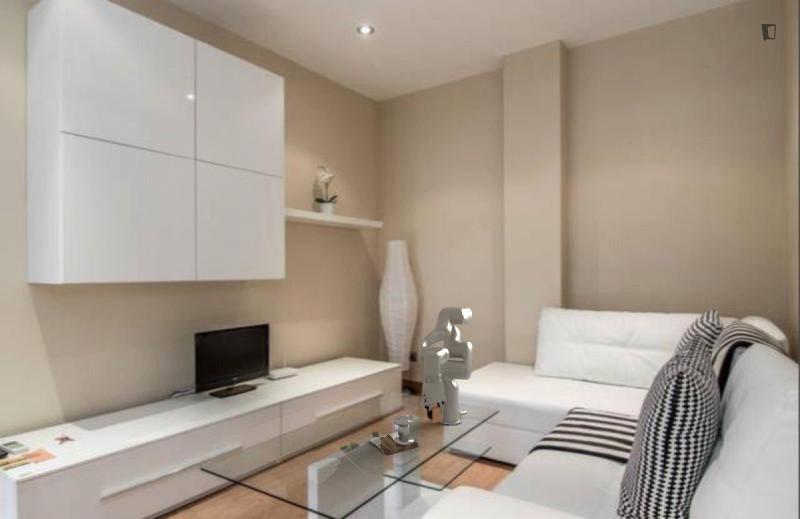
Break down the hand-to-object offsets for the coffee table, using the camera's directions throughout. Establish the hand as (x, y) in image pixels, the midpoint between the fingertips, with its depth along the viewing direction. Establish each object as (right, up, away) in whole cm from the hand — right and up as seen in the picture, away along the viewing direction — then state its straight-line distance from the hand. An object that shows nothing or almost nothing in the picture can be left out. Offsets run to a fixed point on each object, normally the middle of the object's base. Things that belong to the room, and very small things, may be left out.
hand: (434, 416), depth 207 cm
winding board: (-19, -12, -1) cm, 23 cm away
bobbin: (-14, -10, -3) cm, 18 cm away
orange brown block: (0, -2, 0) cm, 2 cm away
